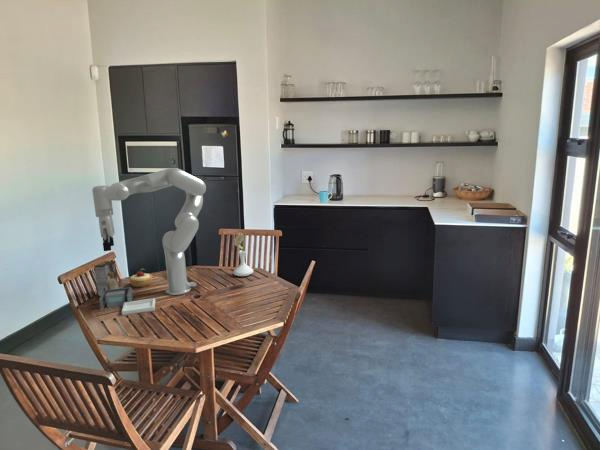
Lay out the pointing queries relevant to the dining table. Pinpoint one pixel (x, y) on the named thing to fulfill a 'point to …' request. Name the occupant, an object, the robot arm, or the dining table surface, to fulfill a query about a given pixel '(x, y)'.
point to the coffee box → (106, 276)
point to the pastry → (141, 279)
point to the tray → (138, 306)
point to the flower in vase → (242, 268)
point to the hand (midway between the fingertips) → (109, 248)
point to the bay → (103, 296)
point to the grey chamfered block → (115, 298)
